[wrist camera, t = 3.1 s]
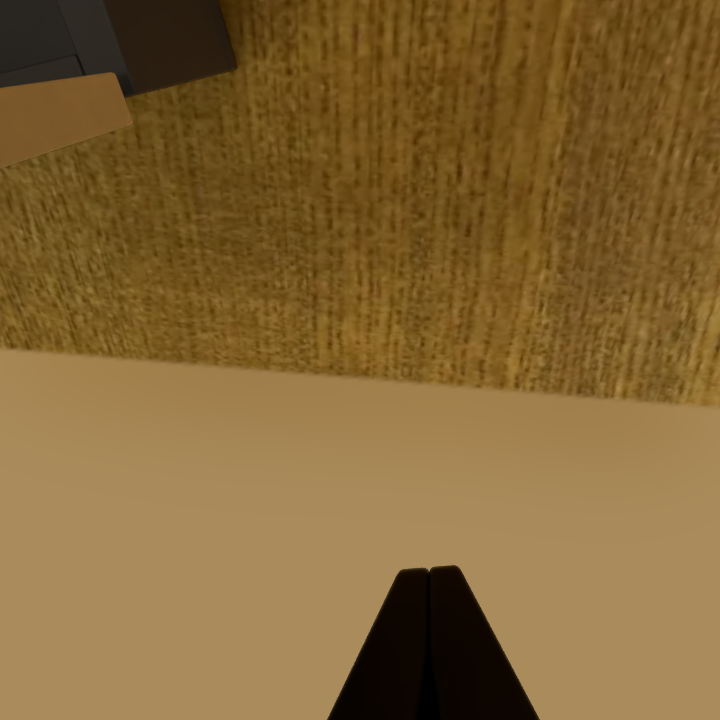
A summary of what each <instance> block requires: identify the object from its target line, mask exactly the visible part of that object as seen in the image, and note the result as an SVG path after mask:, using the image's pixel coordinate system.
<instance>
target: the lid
mask: <svg viewBox="0 0 720 720" xmlns="http://www.w3.org/2000/svg"><path fill="white" fill-rule="evenodd" d="M132 123H133V120H132V117H131V115H130V112H129V109H128V107H127V104H126V101H125V98H124V96H123V93H122V90H121V88H120V85H119V82H118V80H117V77H116V75H115V73H112V72H109V73H102V74H95V75H88V76H81V77H73V78H66V79H59V80H52V81H45V82H38V83H31V84H24V85H17V86H10V87H3V88H0V169H1V168H4V167H7V166H10V165H13V164H16V163H19V162H22V161H25V160H28V159H31V158H34V157H37V156H40V155H43V154H46V153H49V152H52V151H55V150H58V149H61V148H64V147H67V146H70V145H73V144H76V143H79V142H82V141H85V140H88V139H91V138H94V137H97V136H100V135H103V134H106V133H109V132H111V131H114V130H117V129H120V128H123V127H126V126H129V125H131V124H132Z"/></svg>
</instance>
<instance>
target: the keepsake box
mask: <svg viewBox="0 0 720 720" xmlns="http://www.w3.org/2000/svg"><path fill="white" fill-rule="evenodd" d="M236 68H237V66H236V62H235V59H234V55H233V52H232V48H231V44H230V41H229V37H228V34H227V30H226V27H225V23H224V19H223V16H222V12H221V9H220V5H219V2H218V0H0V88H3V87H10V86H17V85H24V84H31V83H38V82H45V81H52V80H59V79H66V78H73V77H81V76H88V75H95V74H102V73H109V72H112V73H115V75H116V77H117V80H118V82H119V85H120V88H121V90H122V93H123V96H124V98H127V97H131V96H136V95H140V94H143V93H147V92H151V91H155V90H159V89H163V88H167V87H171V86H175V85H179V84H183V83H187V82H191V81H195V80H199V79H202V78H206V77H210V76H214V75H218V74H222V73H226V72H230V71H234V70H236Z"/></svg>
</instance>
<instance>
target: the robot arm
mask: <svg viewBox="0 0 720 720" xmlns="http://www.w3.org/2000/svg"><path fill="white" fill-rule="evenodd" d="M327 720H540V719H539V717H538V715H537V714H536V712H535V710H534V708H533V706H532V704H531V702H530V700H529V698H528V697H527V695H526V693H525V691H524V689H523V687H522V685H521V683H520V681H519V679H518V678H517V676H516V674H515V672H514V670H513V668H512V666H511V664H510V662H509V660H508V659H507V657H506V655H505V653H504V651H503V649H502V647H501V645H500V643H499V642H498V640H497V638H496V636H495V634H494V632H493V630H492V628H491V627H490V624H489V623H488V621H487V619H486V617H485V615H484V613H483V611H482V609H481V607H480V606H479V604H478V602H477V600H476V598H475V596H474V594H473V592H472V591H471V589H470V587H469V585H468V583H467V581H466V579H465V577H464V575H463V573H462V571H461V570H460V568H459V567H458V566H455V565H452V566H438V567H432V568H431V569H430V571H428V569H426V568H413V569H403V570H401V571H400V572H399V573H398V574H397V576H396V578H395V580H394V582H393V584H392V586H391V588H390V590H389V592H388V595H387V597H386V599H385V601H384V603H383V605H382V607H381V609H380V611H379V613H378V615H377V618H376V619H375V621H374V624H373V626H372V628H371V630H370V632H369V634H368V636H367V638H366V640H365V643H364V644H363V646H362V648H361V651H360V653H359V655H358V657H357V659H356V661H355V663H354V665H353V667H352V669H351V671H350V673H349V675H348V678H347V680H346V682H345V684H344V686H343V688H342V690H341V692H340V694H339V696H338V698H337V700H336V702H335V705H334V707H333V709H332V711H331V713H330V715H329V717H328V719H327Z"/></svg>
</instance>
